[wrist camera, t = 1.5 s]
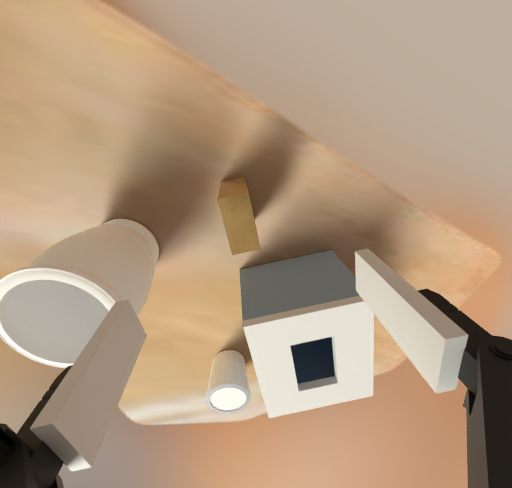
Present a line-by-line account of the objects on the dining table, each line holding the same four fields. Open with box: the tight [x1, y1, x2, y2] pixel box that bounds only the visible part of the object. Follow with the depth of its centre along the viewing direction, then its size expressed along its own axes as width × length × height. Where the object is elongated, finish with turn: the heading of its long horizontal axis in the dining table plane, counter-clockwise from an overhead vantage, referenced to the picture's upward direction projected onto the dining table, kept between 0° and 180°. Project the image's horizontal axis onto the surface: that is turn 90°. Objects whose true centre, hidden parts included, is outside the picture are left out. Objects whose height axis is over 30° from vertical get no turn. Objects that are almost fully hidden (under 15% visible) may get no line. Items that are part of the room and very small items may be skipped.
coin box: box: [240, 250, 374, 418], centre depth 35 cm, size 16×14×12 cm
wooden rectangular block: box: [218, 177, 260, 255], centre depth 29 cm, size 6×3×9 cm, turn 11°
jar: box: [0, 219, 159, 368], centre depth 27 cm, size 11×10×15 cm
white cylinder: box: [206, 350, 250, 413], centre depth 42 cm, size 7×7×7 cm
